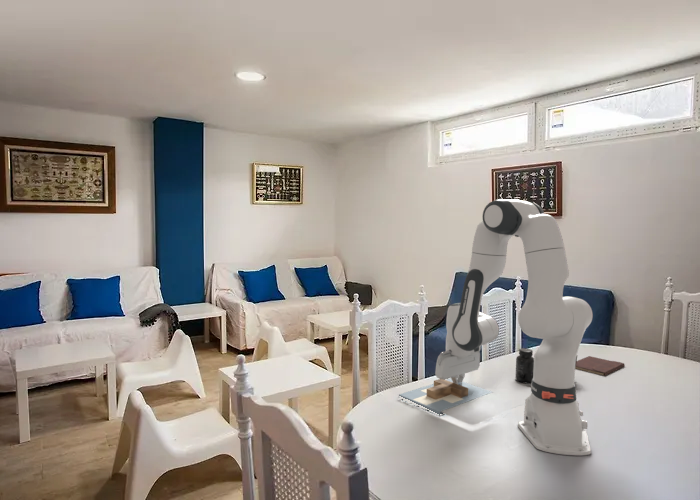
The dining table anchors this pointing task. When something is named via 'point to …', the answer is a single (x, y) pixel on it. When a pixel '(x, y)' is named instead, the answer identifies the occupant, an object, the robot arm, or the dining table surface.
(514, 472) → the dining table surface
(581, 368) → the notebook
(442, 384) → the t block
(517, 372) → the supplement bottle
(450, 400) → the board
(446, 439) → the dining table surface
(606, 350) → the dining table surface
